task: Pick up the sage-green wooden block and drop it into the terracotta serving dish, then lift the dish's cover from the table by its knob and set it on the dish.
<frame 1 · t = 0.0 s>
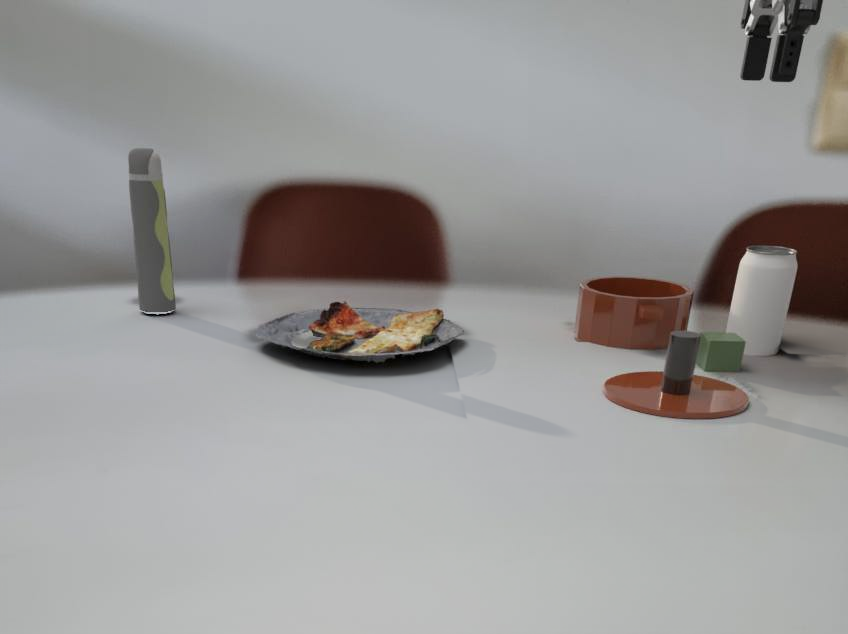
hand: (765, 81, 95), 29 cm above the table, tool pointing down, fingers open, 8 cm apart
dish: (628, 340, 124), on the table
can: (748, 355, 120), on the table
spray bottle: (158, 313, 133), on the table
block: (715, 371, 112), on the table
food plate: (361, 348, 119), on the table
cover: (674, 396, 102), point 1 cm above the table
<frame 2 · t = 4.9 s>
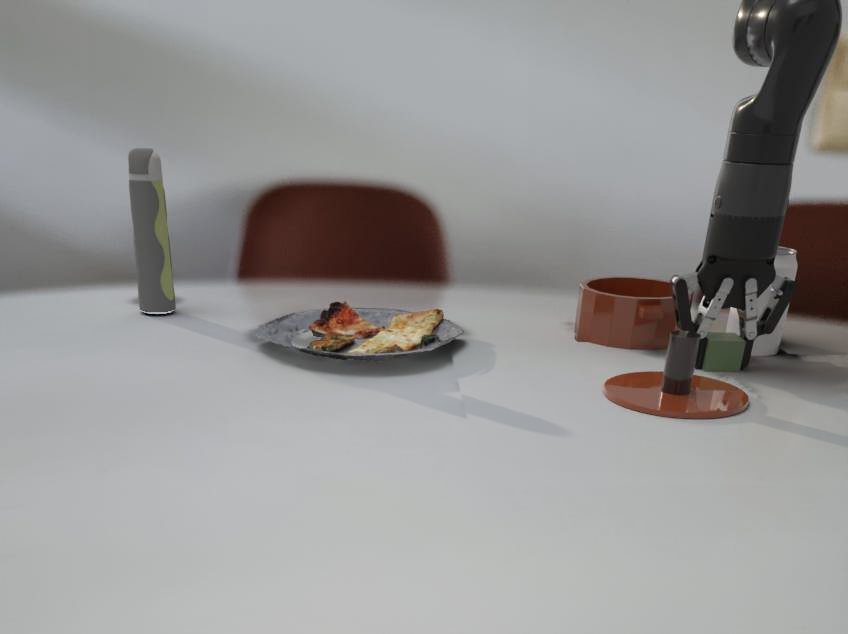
hand: (715, 369, 112), 0 cm above the table, tool pointing down, fingers closed on block, 4 cm apart
block: (715, 371, 112), on the table, touching gripper
everything else where it was.
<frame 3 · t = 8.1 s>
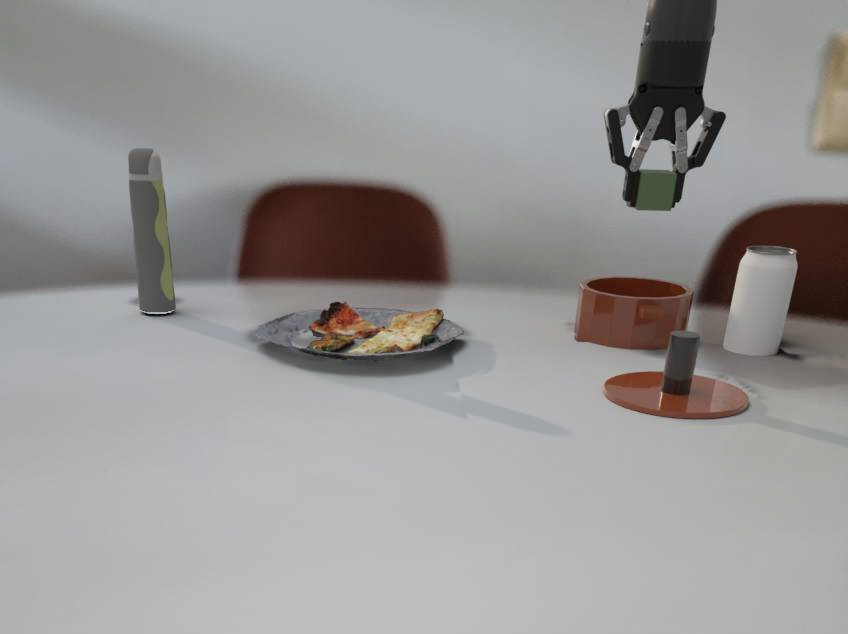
hand: (649, 205, 116), 16 cm above the table, tool pointing down, fingers closed on block, 4 cm apart
block: (649, 208, 116), point 16 cm above the table, touching gripper
everything else where it was.
when the fingers open (3 cm above the table, at t = 11.2 s): block drops 2 cm, resting on dish.
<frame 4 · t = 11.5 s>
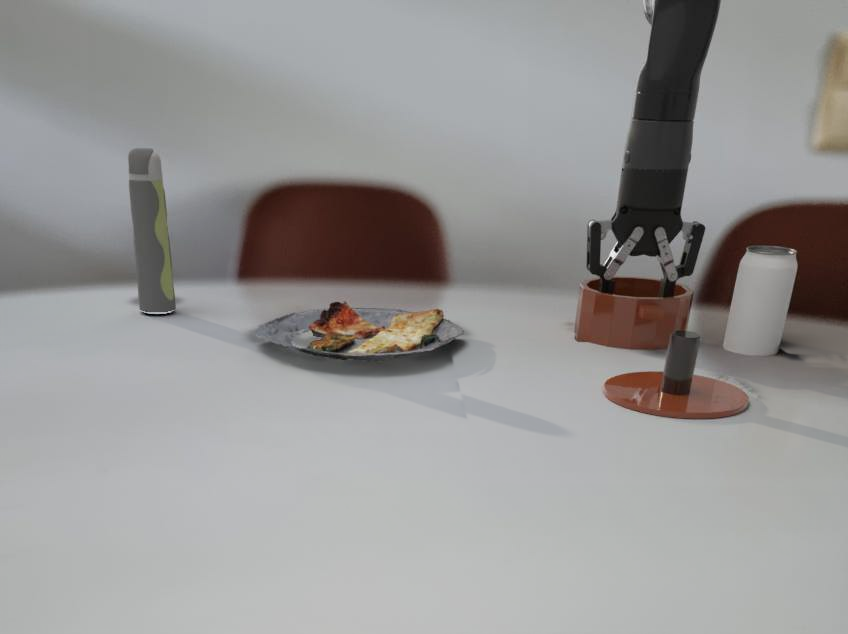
hand: (633, 310, 122), 4 cm above the table, tool pointing down, fingers open, 6 cm apart
block: (629, 336, 124), resting on dish
everything else where it was.
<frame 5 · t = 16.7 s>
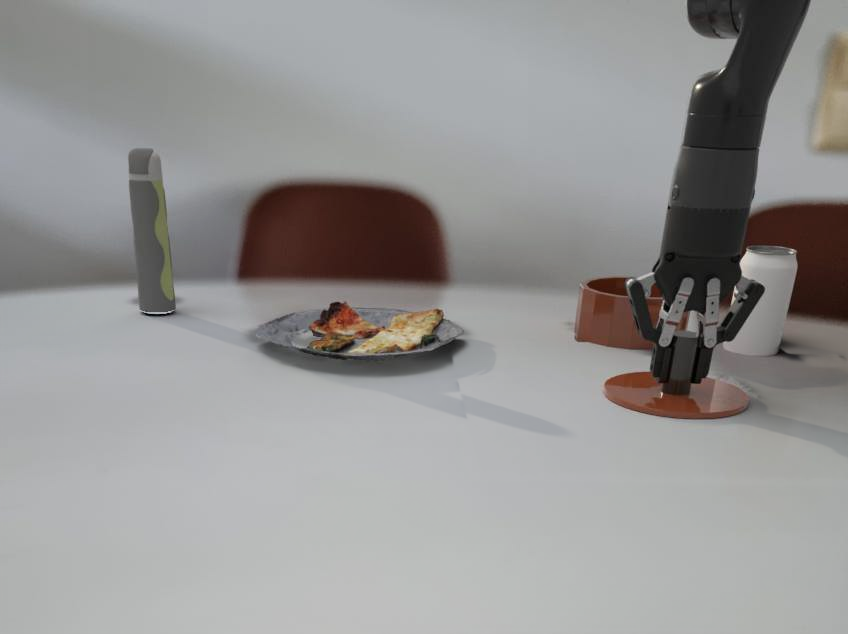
hand: (676, 380, 101), 2 cm above the table, tool pointing down, fingers closed on cover, 3 cm apart
cover: (674, 396, 102), point 1 cm above the table, touching gripper
everything else where it was.
when the fingers open (8 cm above the table, at t = 23.5 s): cover stays where it is, resting on dish.
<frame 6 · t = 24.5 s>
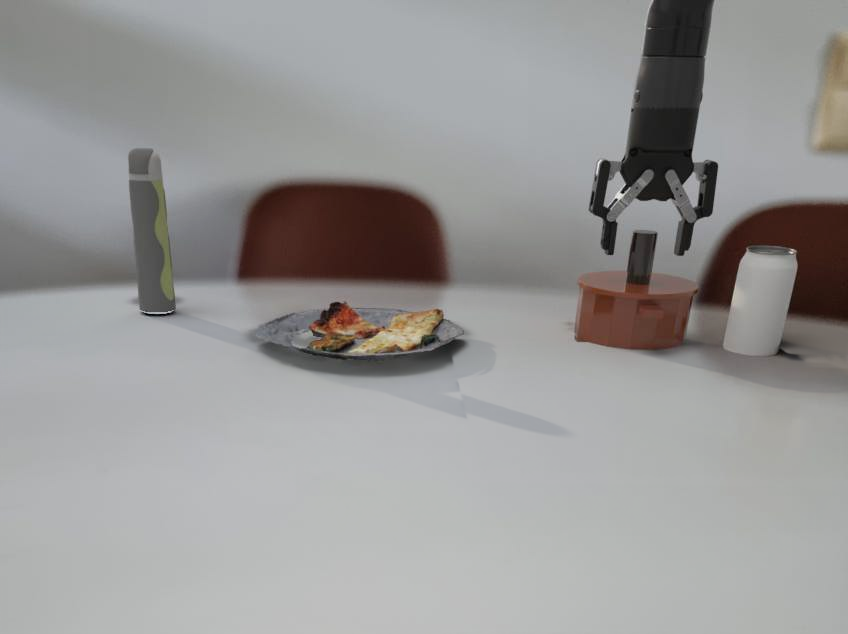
hand: (643, 254, 119), 10 cm above the table, tool pointing down, fingers open, 8 cm apart
cover: (636, 287, 121), point 6 cm above the table, touching dish
everything else where it was.
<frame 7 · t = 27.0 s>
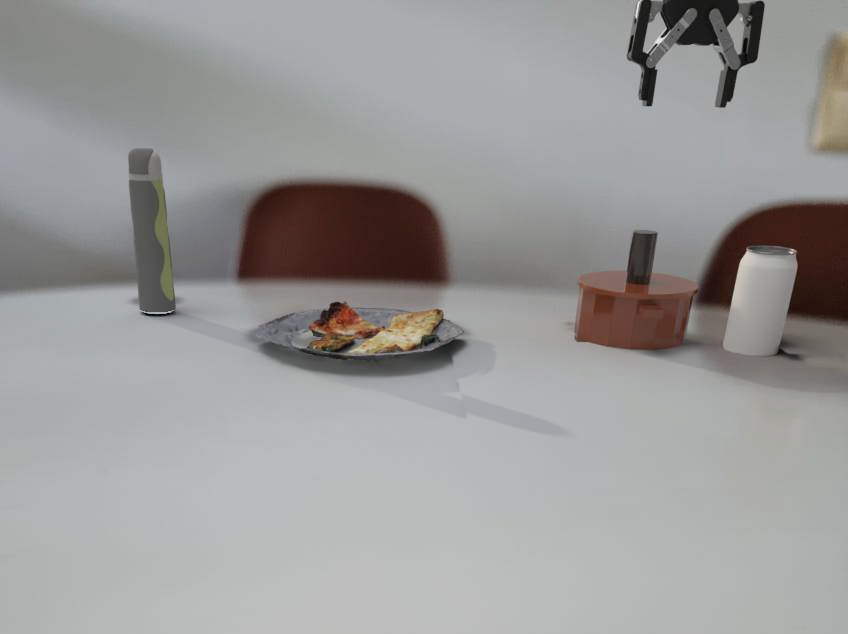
hand: (683, 106, 113), 26 cm above the table, tool pointing down, fingers open, 8 cm apart
nothing on the table moved.
at the end: block inside the target area in the dish (0.1 cm from its centre), point 0.5 cm above the dish's base; cover 0.0 cm off-centre on the dish, point 6.5 cm above the dish's base; cover tilted 0° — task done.
